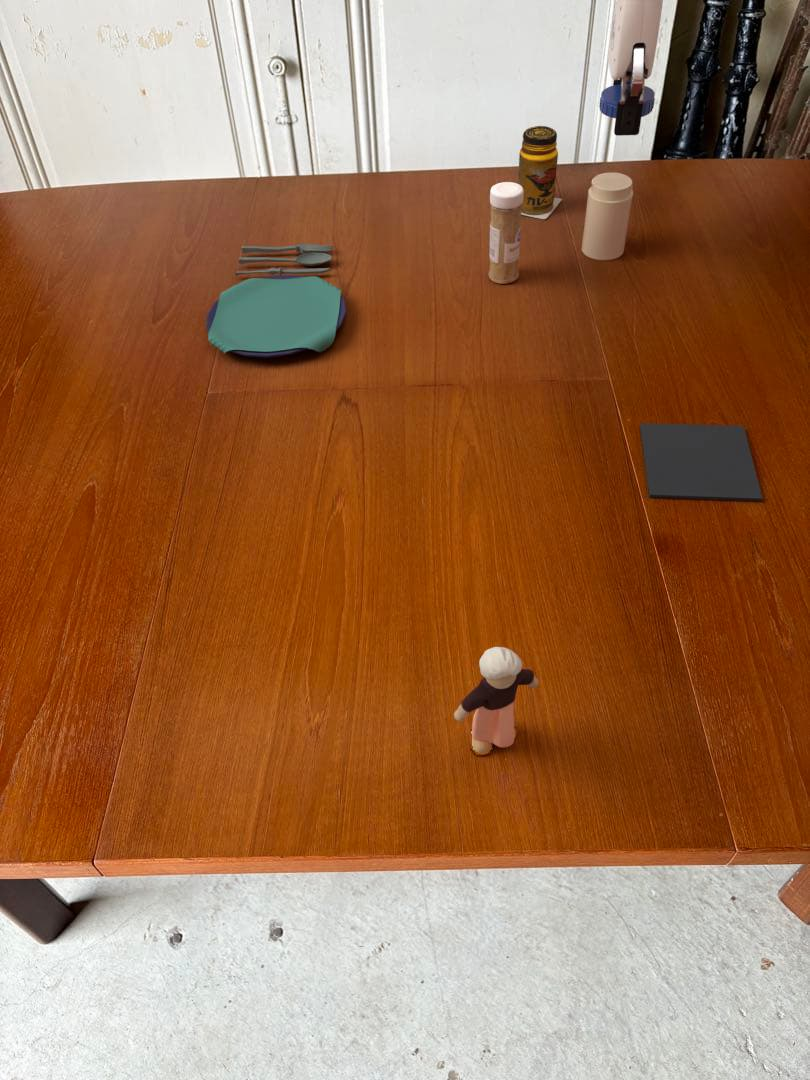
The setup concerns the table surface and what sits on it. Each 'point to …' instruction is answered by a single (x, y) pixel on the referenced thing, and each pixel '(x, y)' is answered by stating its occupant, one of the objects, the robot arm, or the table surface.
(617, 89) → the lid
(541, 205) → the condiment
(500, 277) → the spice bottle
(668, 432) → the mat
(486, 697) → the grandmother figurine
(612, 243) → the jar
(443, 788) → the table surface
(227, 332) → the cutlery set
